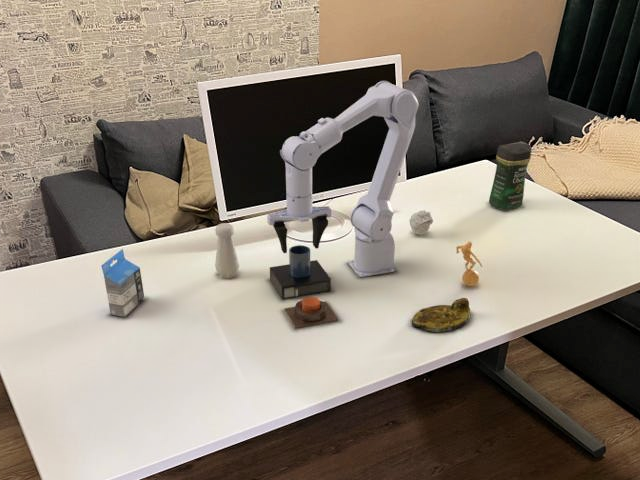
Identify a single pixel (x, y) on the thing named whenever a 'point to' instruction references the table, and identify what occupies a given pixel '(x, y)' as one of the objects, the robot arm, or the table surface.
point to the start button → (310, 304)
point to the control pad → (310, 315)
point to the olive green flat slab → (443, 316)
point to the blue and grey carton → (122, 285)
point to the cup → (299, 261)
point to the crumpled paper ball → (420, 222)
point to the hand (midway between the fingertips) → (300, 249)
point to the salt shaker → (226, 252)
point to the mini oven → (300, 281)
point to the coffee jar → (510, 175)
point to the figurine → (470, 275)
